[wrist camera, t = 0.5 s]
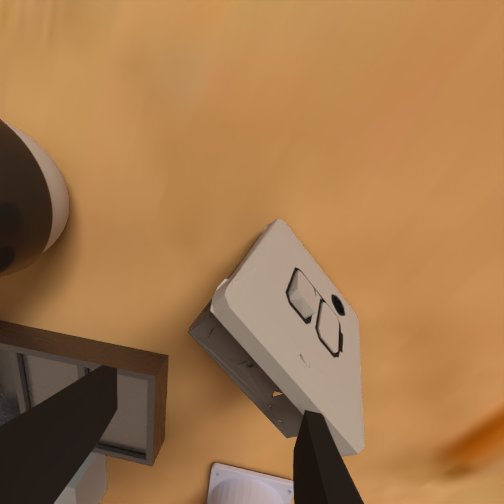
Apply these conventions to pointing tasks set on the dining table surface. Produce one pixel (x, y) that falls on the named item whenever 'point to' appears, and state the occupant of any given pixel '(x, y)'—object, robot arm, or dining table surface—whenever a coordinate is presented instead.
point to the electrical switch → (288, 338)
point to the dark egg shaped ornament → (28, 200)
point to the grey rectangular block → (86, 482)
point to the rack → (75, 367)
